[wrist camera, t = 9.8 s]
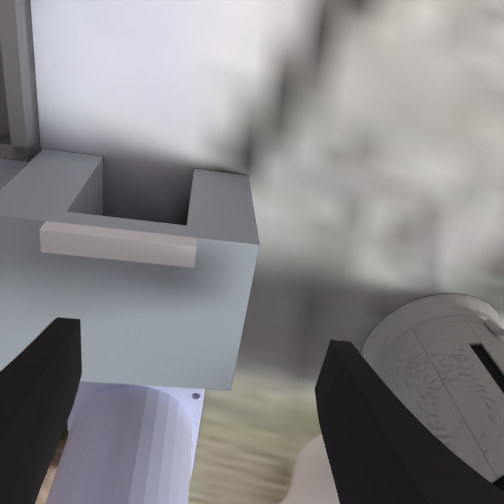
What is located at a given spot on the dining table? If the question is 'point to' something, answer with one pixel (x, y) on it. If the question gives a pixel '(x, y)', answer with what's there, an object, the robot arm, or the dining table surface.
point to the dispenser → (127, 274)
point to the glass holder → (448, 373)
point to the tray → (17, 83)
